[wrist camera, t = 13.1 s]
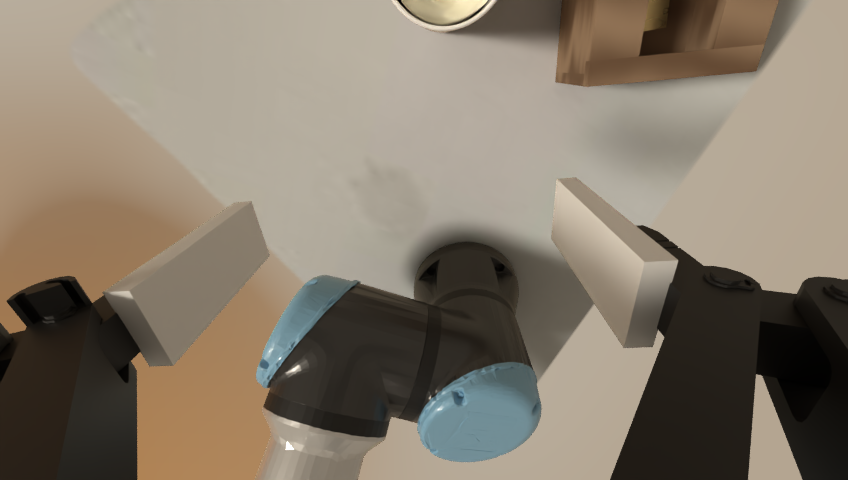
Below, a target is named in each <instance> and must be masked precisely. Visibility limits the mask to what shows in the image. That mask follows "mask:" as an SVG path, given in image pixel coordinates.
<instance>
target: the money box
mask: <svg viewBox="0 0 848 480" xmlns="http://www.w3.org/2000/svg"><path fill="white" fill-rule="evenodd" d="M778 2H779V0H670V2H669V9H668V17H667V24H666V27H665V28H660V29H654V30H649V31H644V25H645V20H646V14H647V9H648V3H649V0H562V8H561V21H560V33H559V45H558V58H557V70H556V82H558V83H565V84H572V85H579V86H586V87H589V86H600V85H611V84H622V83H633V82H644V81H655V80H666V79H677V78H687V77H698V76H709V75H720V74H731V73H742V72H753V71H756V70H757V67H758V64H759V61H760V58H761V55H762V51H763V48H764V45H765V42H766V39H767V36H768V33H769V30H770V27H771V24H772V20H773V17H774V14H775V11H776V8H777V5H778ZM643 31H644V32H643Z"/></svg>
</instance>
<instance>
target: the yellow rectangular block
mask: <svg viewBox="0 0 848 480" xmlns="http://www.w3.org/2000/svg"><path fill="white" fill-rule="evenodd" d="M669 2H670V0H649V3H648V9H647V14H646V20H645V25H644V31H649V30H654V29H660V28H665V27H666V24H667V17H668V9H669ZM644 31H643V32H644Z"/></svg>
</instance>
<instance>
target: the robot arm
mask: <svg viewBox="0 0 848 480" xmlns="http://www.w3.org/2000/svg"><path fill="white" fill-rule="evenodd" d="M551 239H552V240H553V242H554V243H555V245H556V246H557V248H558V249H559V251H560V252H561V254H562V255H563V257H564V258H565V260H566V261H567V263H568V264H569V266H570V267H571V269H572V270H573V272H574V273H575V275H576V277H577V278H578V280H579V281H580V283H581V284H582V286H583V287H584V289H585V290H586V292H587V293H588V295H589V296H590V298H591V299H592V301H593V302H594V304H595V305H596V307H597V308H598V310H599V311H600V313H601V314H602V316H603V317H604V319H605V320H606V322H607V323H608V325H609V326H610V328H611V329H612V331H613V332H614V334H615V335H616V337H617V338H618V340H619V342H620V343H621V345H622V346H623V348H635V347H636V348H637V347H653V345H654V341H655V338H656V334H657V331H658V330H659V331H660V332H661V333H662V335H663V336H664V340H663V343H662V346H661V348H660V351H659V353H658V356H657V358H656V361H655V364H654V366H653V369H652V372H651V374H650V377H649V379H648V382H647V385H646V387H645V390H644V392H643V395H642V398H641V400H640V403H639V406H638V408H637V411H636V413H635V416H634V418H633V421H632V424H631V427H630V429H629V432H628V434H627V437H626V439H625V442H624V445H623V447H622V450H621V452H620V455H619V458H618V460H617V463H616V466H615V468H614V471H613V473H612V476H611V479H610V480H748V471H749V457H750V445H751V431H752V418H753V405H754V404H753V403H754V392H755V391H754V390H755V378H756V374H758V375H762V376H763V378H764V381H765V384H766V386H767V389H768V392H769V394H770V397H771V399H772V402H773V404H774V407H775V410H776V412H777V415H778V417H779V420H780V423H781V425H782V428H783V430H784V433H785V435H786V438H787V440H788V443H789V446H790V448H791V451H792V453H793V456H794V459H795V461H796V464H797V466H798V469H799V471H800V474H801V476H802V479H803V480H848V280H846V279H845V280H842V279H837V278H830V277H813V278H808V279H806V280H805V281H804V282H803V283H802V285H801V287H800V289H799V291H798V293H797V294H791V293H783V292H773V291H766V290H762V289H761V286H760V284H759V283H758V282H756V281H755V280H754V279H753V278H751V277H749V276H747V275H745V274H743V273H741V272H738V271H734V270H731V269H728V268H722V267H716V266H703V265H702V264H700V263H699V262H698V261H696V260H695V259H694V258H693V257H691V256H690V255H689V254H687V253H686V252H685V251H683V250H682V249H681V248H678V246H677V245H675V244H674V243H673V242H671V241H669V240H668V239H667V238H666V237H664V236H663V235H662V234H661V233H659V232H658V231H655V230H653V229H650V228H648V227H646V226H643V225H641V226H635V225H634V224H633V223H632V222H630V221H629V220H628V219H627V218H625V217H624V216H623V215H622V214H621V213H619V212H618V211H617V210H616V209H614V208H613V207H612V206H611V205H609V204H608V203H607V202H606V201H604V200H603V199H602V198H601V197H599V196H598V195H597V194H596V193H594V192H593V191H592V190H591V189H590V188H588V187H587V186H586V185H585V184H583V183H582V182H581V181H580V180H578V179H577V178H562V179H557V182H556V193H555V203H554V214H553V225H552V235H551ZM268 257H269V252H268V249H267V246H266V243H265V240H264V237H263V234H262V231H261V228H260V225H259V223H258V220H257V217H256V214H255V211H254V208H253V205H252V202H251V201H250V202H236V203H233V204H232V205H230V206H229V207H227V208H226V209H224V210H223V211H222V212H220V213H219V214H217V215H216V216H214V217H213V218H211V219H210V220H208V221H207V222H205V223H204V224H202V225H201V226H199V227H198V228H197V229H195V230H194V231H192V232H191V233H189V234H188V235H186V236H185V237H183V238H182V239H180V240H179V241H177V242H176V243H174V244H173V245H171V246H170V247H169V248H167V249H166V250H164V251H163V252H161V253H160V254H158V255H157V256H155V257H154V258H152V259H151V260H149V261H148V262H146V263H145V264H144V265H142V266H141V267H139V268H138V269H136V270H135V271H133V272H132V273H130V274H129V275H127V276H126V277H124V278H123V279H121V280H120V281H118V282H117V283H116V284H114V285H113V286H111V287H110V288H108V289H107V290H105V291H104V292H103V294H104V296H102V297H101V298H99V299H98V300H96V301H95V302H94V303H92V302H91V301H90V299H89V298H88V296H87V295H86V293H85V292H84V290H83V289H82V287H81V286H80V284H79V283H78V282H77V280H76V278H75V277H72V276H65V277H58V278H54V279H50V280H46V281H43V282H40V283H38V284H35V285H32V286H30V287H28V288H26V289H24V290H21V291H19V292H18V293H16V294H14V295H13V296H12V297H10V298H9V299H8V300H7V303H8V304H9V305H10V306H11V308H12V309H13V310H14V311H15V313H16V314H17V315H18V316H19V317H20V319H21V320H22V321H23V322H24V324H25V325H26V326H27V327H26V330H25V331H20V332H16V333H12V334H9V333H8V331H7V330H6V329H5V328H4V327H3V326H2V324H1V323H0V480H137V370H136V369H135V367H134V365H133V364H132V362H131V360H132V359H133V358H134V357H135V356H136V355H137V354H138V353H139V352H141V353H142V355H143V357H144V358H145V360H146V361H147V363H148V365H149V366H173V365H174V364H175V363H176V362H177V361H178V360H179V359H180V357H181V356H182V355H183V354H184V353H185V352H186V351H187V349H188V348H189V347H190V346H191V345H192V344H193V342H195V340H196V339H197V338H198V337H199V336H200V335H201V333H202V332H203V331H204V330H205V329H206V328H207V327H208V326H209V324H210V323H211V322H212V321H213V320H214V319H215V318H216V316H217V315H218V314H219V313H220V312H221V311H222V310H223V308H224V307H225V306H226V305H227V304H228V303H229V302H230V300H231V299H232V298H233V297H234V296H235V294H237V292H238V291H239V290H240V289H241V288H242V287H243V286H244V285H245V283H246V282H247V281H248V280H249V279H250V278H251V276H252V275H253V274H254V273H255V272H256V271H257V270H258V268H259V267H260V266H261V265H262V264H263V263H264V262H265V260H266V259H267V258H268ZM518 295H519V288H518V281H517V278H516V275H515V273H514V270H513V268H512V266H511V264H510V263H509V261H508V260H507V259H506V258H505V257H504V256H503V255H502V254H501V253H500V252H498V251H497V250H495V249H493V248H491V247H489V246H486V245H483V244H478V243H469V242H464V243H455V244H451V245H448V246H445V247H443V248H440V249H438V250H437V251H435V252H433V253H432V254H431V255H430V256H428V257H427V258H426V259H425V261H424V262H423V263H422V264H421V266H420V268H419V269H418V272H417V274H416V278H415V285H414V299H415V300H414V299H410V298H407V297H404V296H400V295H397V294H394V293H390V292H387V291H384V290H380V289H377V288H374V287H370V286H367V285H364V284H361V283H360V281H357V280H354V281H349V280H345V279H341V278H337V277H332V276H328V275H321V276H317V277H315V278H313V279H311V280H310V281H308V282H307V283H306V284H305V285H304V286H303V287H302V288H301V289H300V290H299V291H298V293H297V294H296V295H295V296H294V298H293V299H292V301H291V302H290V303H289V305H288V306H287V308H286V310H285V311H284V313H283V314H282V316H281V318H280V320H279V321H278V323H277V325H276V327H275V329H274V330H273V332H272V334H271V336H270V338H269V340H268V342H267V345H266V347H265V349H264V351H263V355H262V356H263V357H262V359H261V361H260V363H259V366H258V368H257V372H256V378H257V381H258V383H260V384H261V385H262V386H263V387H264V388H270V390H269V393H268V396H267V398H266V401H265V404H264V406H263V409H262V411H263V414H264V416H265V418H266V420H267V422H268V424H269V427H270V430H271V437H270V440H269V443H268V445H267V448H266V451H265V453H264V456H263V459H262V462H261V464H260V467H259V470H258V472H257V475H256V478H255V480H358V477H359V473H360V469H361V465H362V462H363V458H364V456H365V455H366V453H367V452H368V451H369V450H371V449H372V448H374V447H375V446H377V445H378V444H380V443H381V442H382V441H384V440H385V437H386V434H387V430H388V426H389V421H390V419H391V417H396V418H399V419H404V420H408V421H411V422H415V423H418V427H417V430H418V433H419V435H420V439H421V441H422V444H423V445H424V446H425V447H426V448H427V449H430V452H431V453H432V454H434V455H435V456H437V457H440V458H442V459H445V460H449V461H456V462H476V461H483V460H488V459H492V458H495V457H498V456H500V455H503V454H506V453H508V452H510V451H512V450H514V449H516V448H517V447H518V446H520V445H521V444H523V443H524V442H525V441H526V440H527V439H528V438H529V437H530V436H531V435H532V433H533V432H534V431H535V429H536V427H537V425H538V423H539V420H540V417H541V402H540V398H539V393H538V389H537V378H536V375H535V372H534V371H533V368H532V365H531V362H530V359H529V356H528V353H527V350H526V347H525V344H524V341H523V338H522V335H521V332H520V329H519V326H518V323H517V320H516V318H515V313H516V307H517V301H518Z"/></svg>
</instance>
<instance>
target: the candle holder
mask: <svg viewBox="0 0 848 480" xmlns="http://www.w3.org/2000/svg"><path fill="white" fill-rule="evenodd" d="M496 1H497V0H392V2H393V3H394V5H395V6H396V7H397V8H398V10H399V11H400V12H401V13H402V14H403V15H404V16H406V17H407V18H408V19H409V20H411V21H412V22H414V23H415V24H417V25H419V26H421V27H423V28H425V29H427V30H430V31H433V32H439V33H445V32H451V31H454V30H457V29H461V28H464V27H466V26H468V25H470V24H472V23H474V22H475V21H477V20H478V19H480V18H481V17H482V16H484V15H485V14H486V13H487V12H488V11H489V10H490V9H491V8H492V6H493V5H494V4H495V3H496Z"/></svg>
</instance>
